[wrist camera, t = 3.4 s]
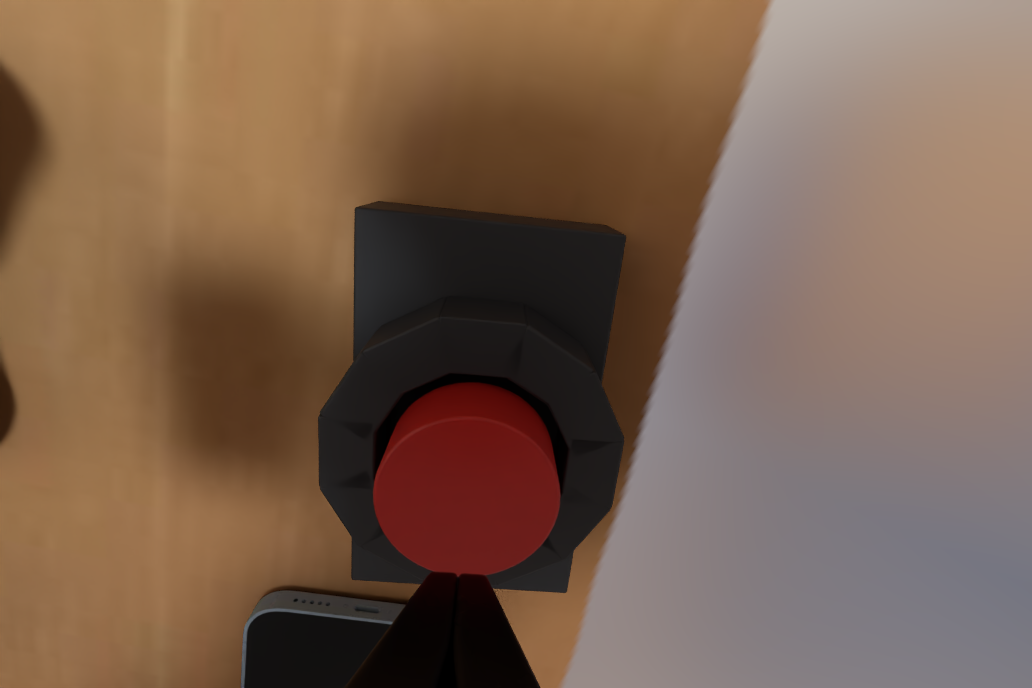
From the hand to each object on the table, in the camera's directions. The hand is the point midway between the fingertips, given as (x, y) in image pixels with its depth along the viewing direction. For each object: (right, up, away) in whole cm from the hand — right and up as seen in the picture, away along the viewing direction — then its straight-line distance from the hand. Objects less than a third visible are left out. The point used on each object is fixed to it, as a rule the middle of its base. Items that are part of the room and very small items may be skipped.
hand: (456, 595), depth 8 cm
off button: (0, +1, +4) cm, 4 cm away
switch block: (0, +2, +7) cm, 8 cm away
